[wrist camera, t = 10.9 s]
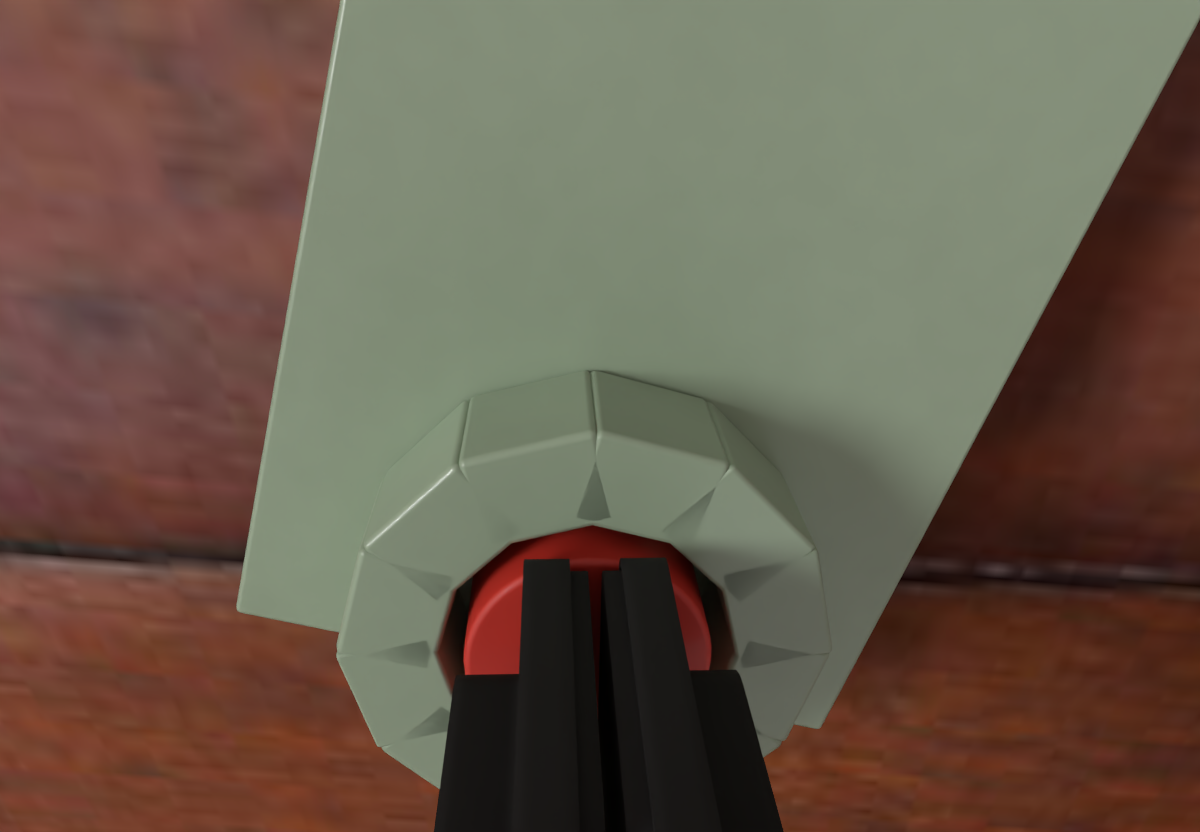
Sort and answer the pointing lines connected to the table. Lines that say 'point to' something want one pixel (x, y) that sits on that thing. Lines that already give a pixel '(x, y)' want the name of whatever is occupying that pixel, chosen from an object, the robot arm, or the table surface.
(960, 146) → the switch box
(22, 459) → the table surface
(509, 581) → the button
